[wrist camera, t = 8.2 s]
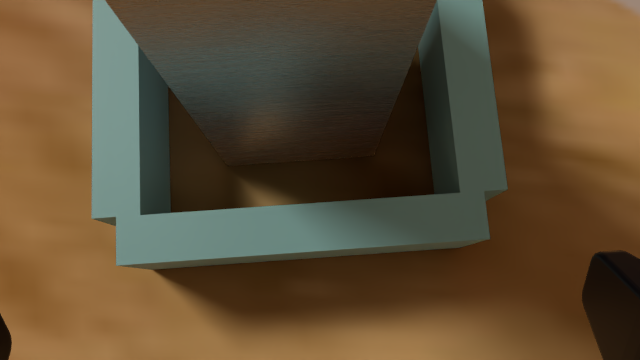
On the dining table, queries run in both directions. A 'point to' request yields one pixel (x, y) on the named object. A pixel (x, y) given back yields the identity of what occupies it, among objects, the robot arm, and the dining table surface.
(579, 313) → the dining table surface
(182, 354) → the dining table surface
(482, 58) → the teal square shallow tray
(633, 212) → the dining table surface
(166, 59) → the gray rectangular block
